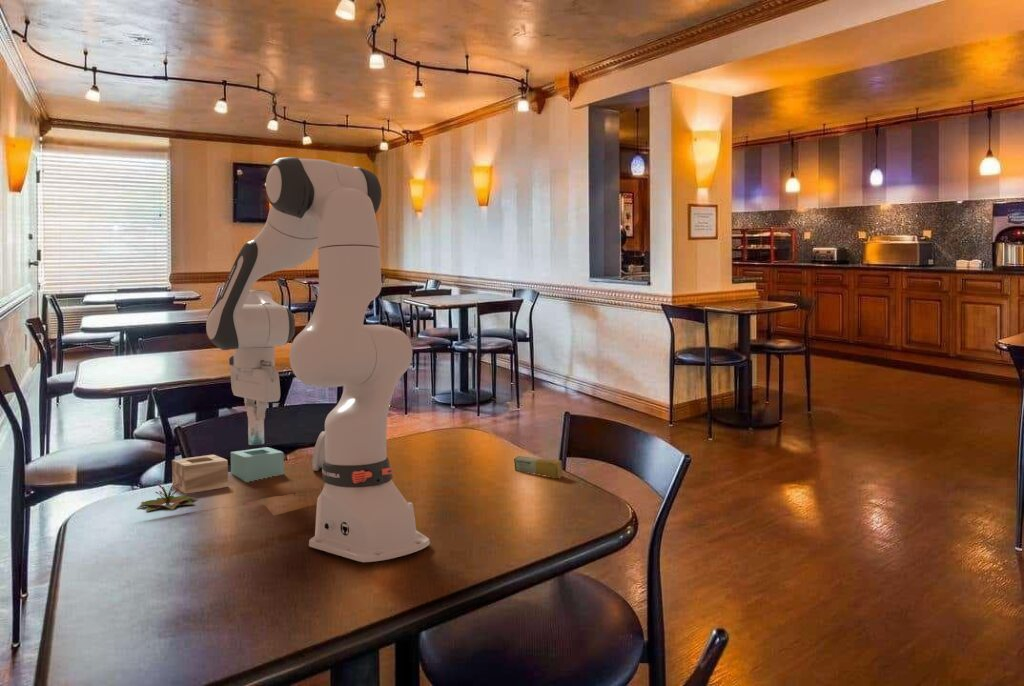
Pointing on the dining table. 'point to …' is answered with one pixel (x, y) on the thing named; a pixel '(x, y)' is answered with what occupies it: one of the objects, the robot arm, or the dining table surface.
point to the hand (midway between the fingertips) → (256, 418)
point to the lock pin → (255, 427)
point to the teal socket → (257, 463)
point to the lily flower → (167, 500)
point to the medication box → (539, 466)
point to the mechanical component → (319, 452)
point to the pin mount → (200, 473)
